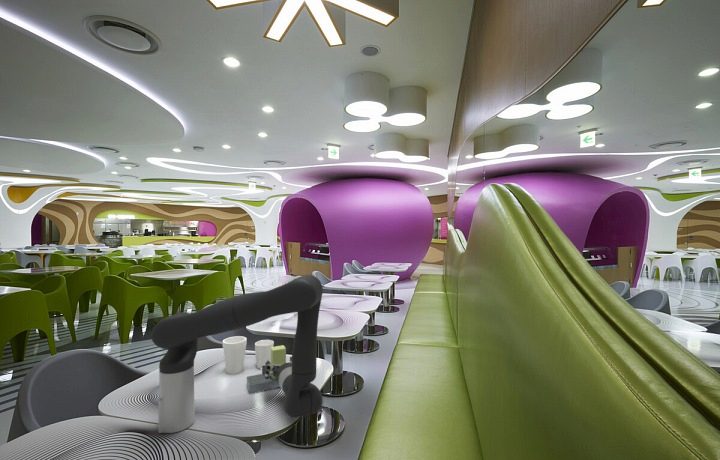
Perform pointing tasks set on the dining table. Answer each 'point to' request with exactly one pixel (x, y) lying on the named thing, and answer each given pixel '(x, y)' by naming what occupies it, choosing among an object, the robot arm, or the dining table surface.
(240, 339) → the foam cup
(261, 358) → the white cup
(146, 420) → the dining table surface
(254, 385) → the grey flat block
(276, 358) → the olive green rectangular block
